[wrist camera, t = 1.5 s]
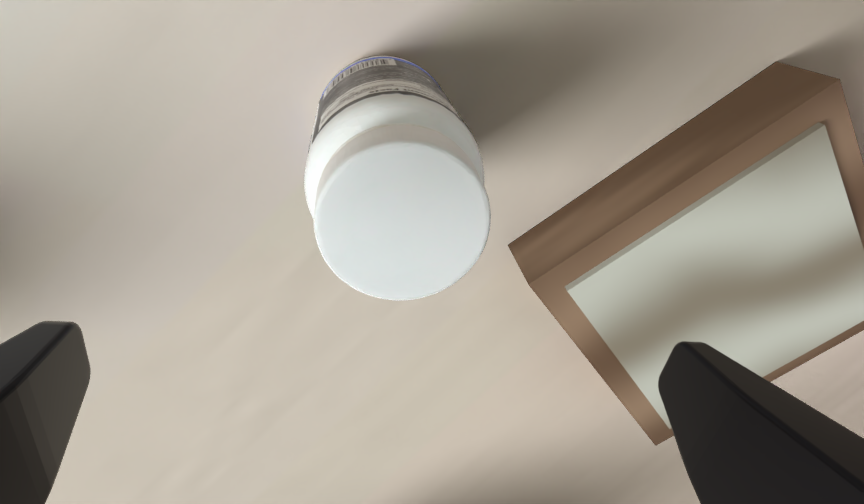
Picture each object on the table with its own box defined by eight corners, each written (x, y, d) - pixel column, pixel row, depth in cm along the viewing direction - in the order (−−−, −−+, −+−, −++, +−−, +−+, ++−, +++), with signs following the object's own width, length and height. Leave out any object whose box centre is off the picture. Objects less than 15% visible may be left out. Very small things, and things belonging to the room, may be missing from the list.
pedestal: (847, 270, 26) (910, 311, 23) (627, 399, 28) (658, 450, 25) (776, 61, 20) (847, 81, 17) (507, 245, 22) (530, 288, 19)
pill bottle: (427, 196, 21) (468, 331, 14) (304, 167, 20) (277, 298, 12) (467, 75, 19) (541, 156, 11) (332, 33, 17) (320, 96, 10)
